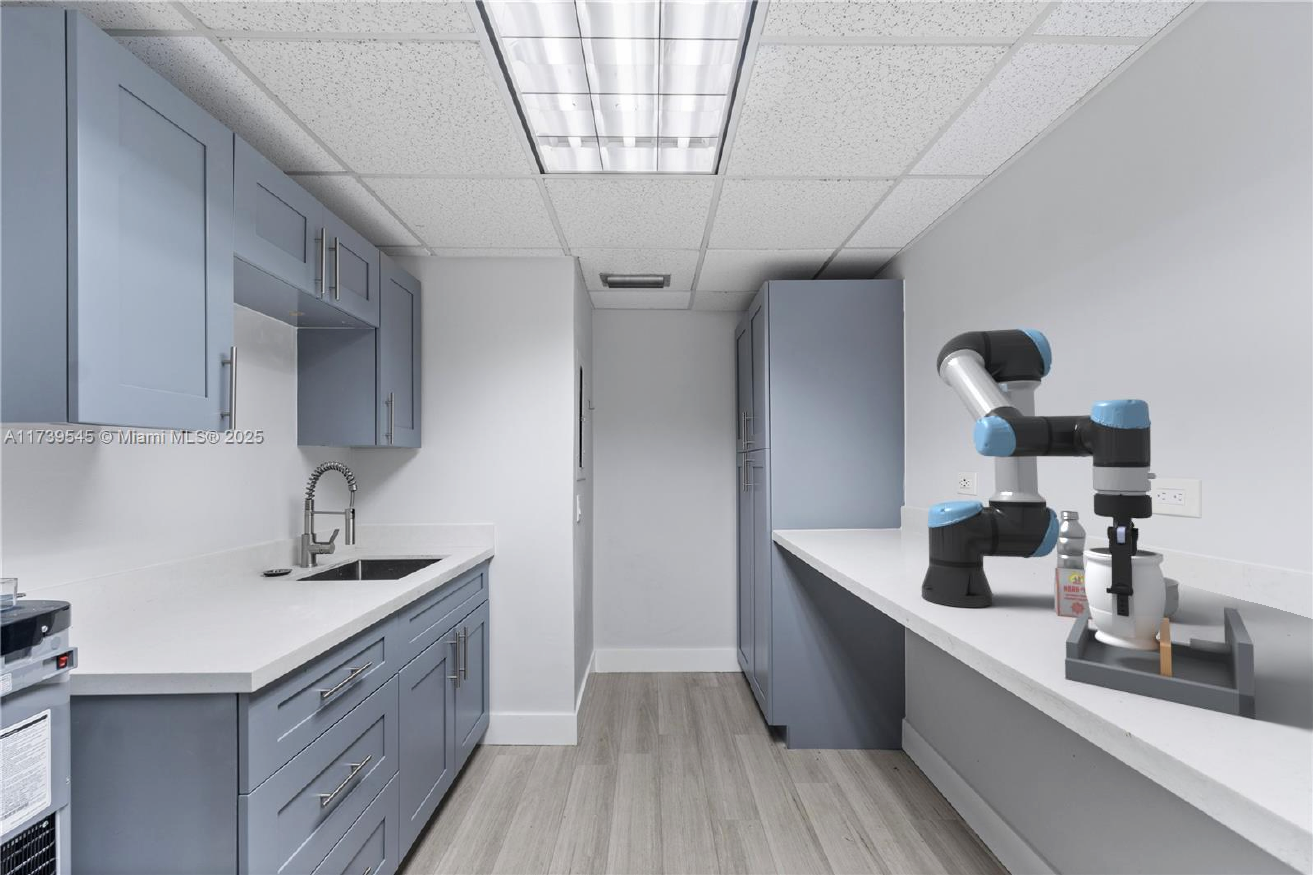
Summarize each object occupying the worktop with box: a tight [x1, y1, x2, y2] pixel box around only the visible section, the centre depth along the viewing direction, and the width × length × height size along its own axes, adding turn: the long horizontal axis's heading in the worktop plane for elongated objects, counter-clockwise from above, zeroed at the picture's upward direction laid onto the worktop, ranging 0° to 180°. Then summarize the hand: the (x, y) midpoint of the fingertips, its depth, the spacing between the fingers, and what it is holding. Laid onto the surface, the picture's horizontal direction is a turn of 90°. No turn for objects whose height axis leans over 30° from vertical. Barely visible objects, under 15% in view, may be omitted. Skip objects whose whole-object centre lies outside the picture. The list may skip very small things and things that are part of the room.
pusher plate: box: [1159, 617, 1172, 677], centre depth 92 cm, size 1×18×6 cm, turn 139°
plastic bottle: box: [1056, 510, 1087, 570], centre depth 145 cm, size 6×7×20 cm
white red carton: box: [1053, 567, 1093, 620], centre depth 125 cm, size 4×7×10 cm, turn 64°
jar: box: [1083, 547, 1166, 650], centre depth 95 cm, size 11×10×15 cm
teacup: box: [1163, 576, 1180, 618], centre depth 126 cm, size 14×11×8 cm
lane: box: [1064, 606, 1256, 720], centre depth 93 cm, size 21×22×10 cm
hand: (1125, 627), depth 95 cm, fingers closed on jar, 10 cm apart
